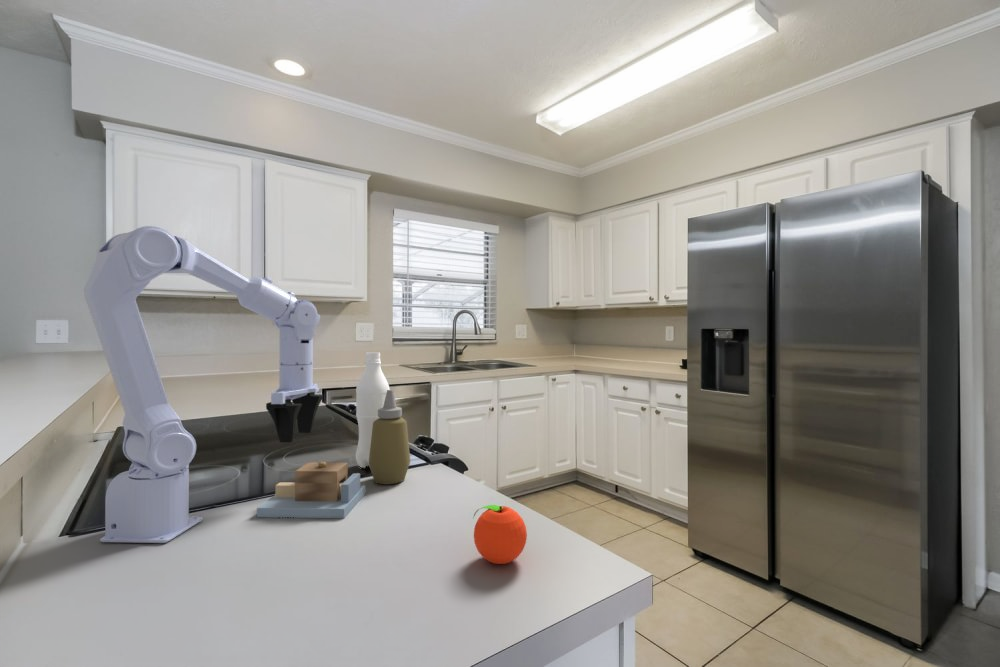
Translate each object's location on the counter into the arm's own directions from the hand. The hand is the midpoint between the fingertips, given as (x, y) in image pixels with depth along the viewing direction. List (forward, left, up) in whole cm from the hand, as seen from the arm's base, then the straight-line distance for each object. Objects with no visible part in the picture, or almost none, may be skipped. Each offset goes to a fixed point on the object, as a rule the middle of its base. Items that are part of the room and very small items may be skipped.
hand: (296, 437), depth 85 cm
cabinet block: (+8, -7, -8) cm, 13 cm away
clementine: (+38, -25, -10) cm, 47 cm away
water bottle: (+10, +15, -10) cm, 21 cm away
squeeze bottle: (+16, +6, -10) cm, 20 cm away
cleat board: (+7, -7, -10) cm, 14 cm away
